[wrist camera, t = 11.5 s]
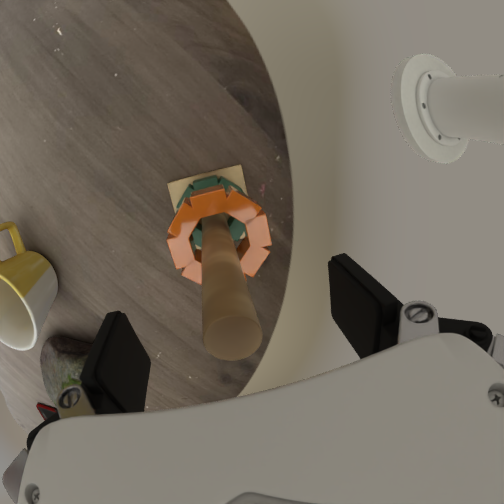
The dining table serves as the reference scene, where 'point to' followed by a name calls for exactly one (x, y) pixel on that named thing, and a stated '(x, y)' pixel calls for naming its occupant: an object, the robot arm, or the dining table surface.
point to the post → (223, 280)
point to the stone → (62, 363)
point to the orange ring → (210, 204)
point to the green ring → (207, 182)
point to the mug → (24, 294)
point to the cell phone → (46, 411)
